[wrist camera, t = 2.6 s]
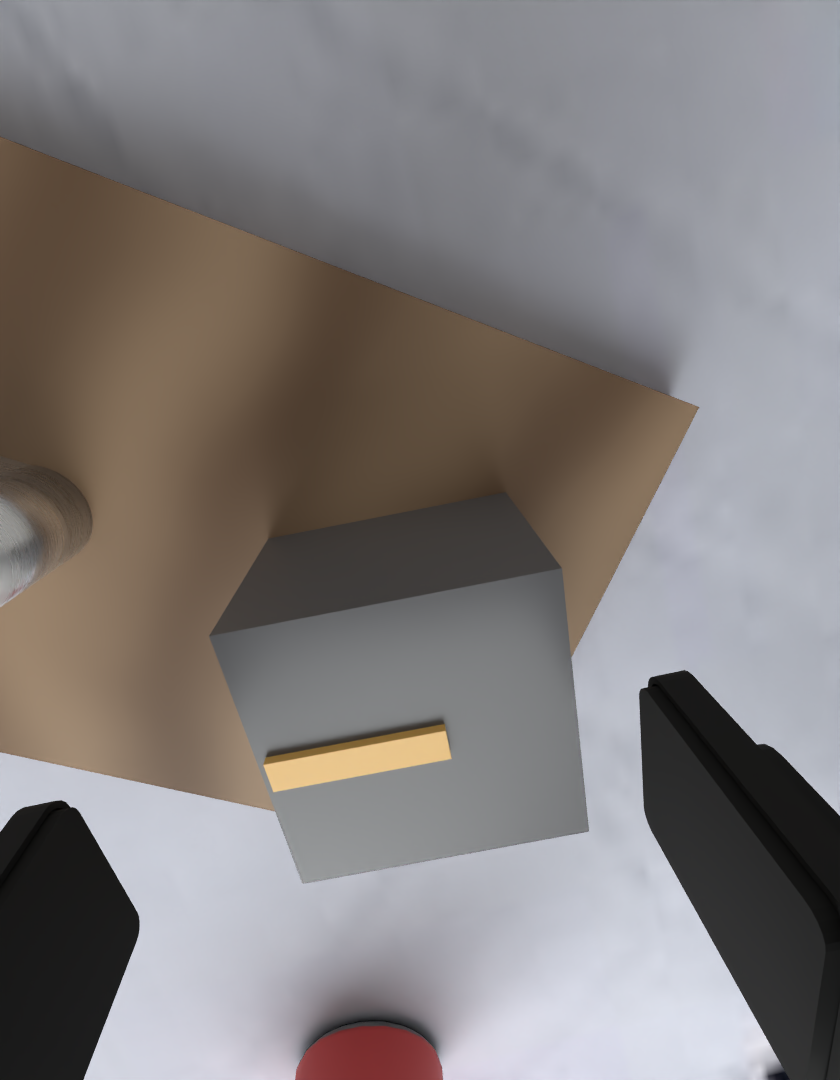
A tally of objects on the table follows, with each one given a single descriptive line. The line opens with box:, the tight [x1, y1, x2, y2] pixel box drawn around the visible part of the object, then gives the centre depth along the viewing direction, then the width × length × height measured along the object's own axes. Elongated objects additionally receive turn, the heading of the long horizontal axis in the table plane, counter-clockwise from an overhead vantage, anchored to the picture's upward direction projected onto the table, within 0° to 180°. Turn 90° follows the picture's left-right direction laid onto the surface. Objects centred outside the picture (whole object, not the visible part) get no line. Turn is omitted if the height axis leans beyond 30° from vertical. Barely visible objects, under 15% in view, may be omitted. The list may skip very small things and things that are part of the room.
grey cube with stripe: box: [209, 492, 589, 884], centre depth 13 cm, size 6×6×5 cm
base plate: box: [0, 137, 699, 811], centre depth 15 cm, size 20×16×2 cm
